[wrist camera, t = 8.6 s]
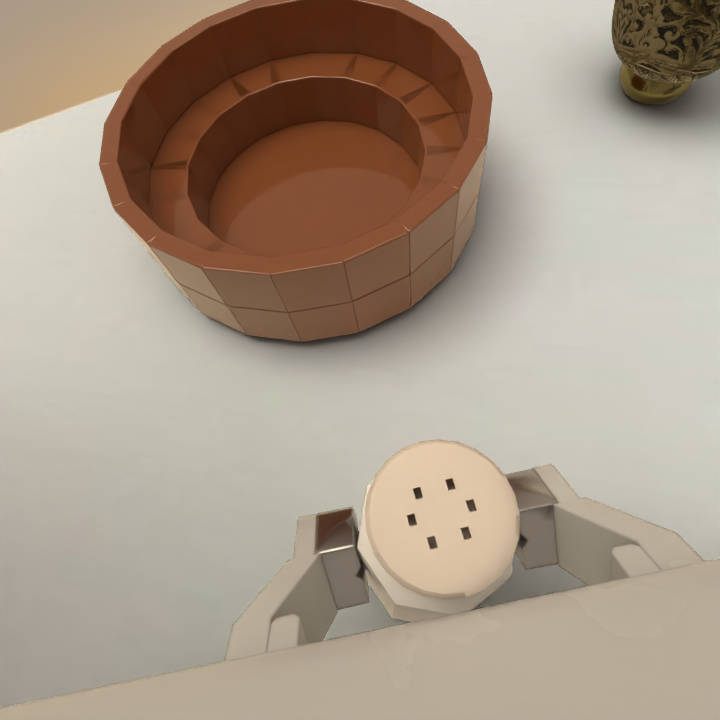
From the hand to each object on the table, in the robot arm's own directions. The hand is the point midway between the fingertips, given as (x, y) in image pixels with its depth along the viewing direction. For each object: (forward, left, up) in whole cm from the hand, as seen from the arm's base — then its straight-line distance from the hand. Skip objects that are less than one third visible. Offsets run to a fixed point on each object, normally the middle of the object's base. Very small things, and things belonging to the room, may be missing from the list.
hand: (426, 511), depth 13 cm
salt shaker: (0, -1, -7) cm, 7 cm away
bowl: (-8, +15, -6) cm, 18 cm away
